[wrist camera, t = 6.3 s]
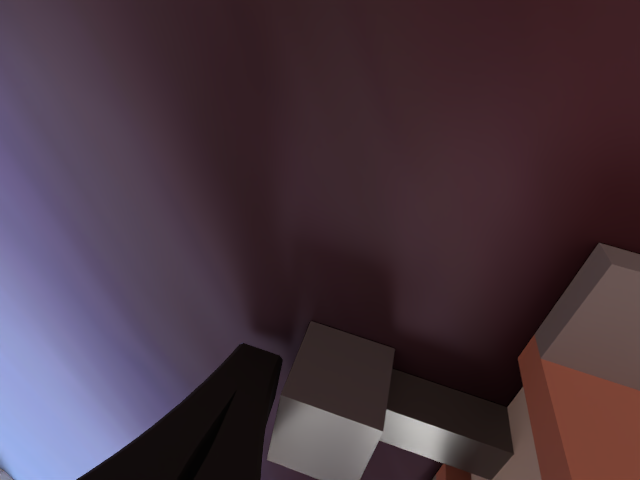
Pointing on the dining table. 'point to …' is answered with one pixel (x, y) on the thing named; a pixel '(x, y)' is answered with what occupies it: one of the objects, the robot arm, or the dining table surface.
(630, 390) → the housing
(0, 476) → the valve
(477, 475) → the plug
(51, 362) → the dining table surface
